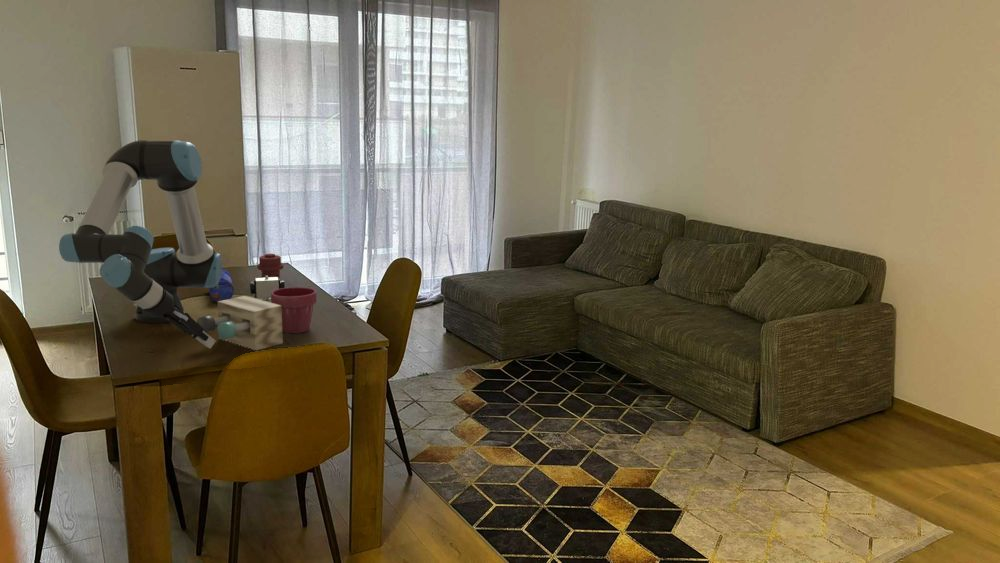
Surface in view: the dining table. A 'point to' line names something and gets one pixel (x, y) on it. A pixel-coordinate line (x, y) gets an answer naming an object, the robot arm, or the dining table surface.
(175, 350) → the dining table surface
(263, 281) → the pneumatic valve
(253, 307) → the block
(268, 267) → the mechanical component
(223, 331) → the knob teal
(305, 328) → the plant pot
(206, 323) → the knob charcoal
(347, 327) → the dining table surface
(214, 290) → the pencil case
